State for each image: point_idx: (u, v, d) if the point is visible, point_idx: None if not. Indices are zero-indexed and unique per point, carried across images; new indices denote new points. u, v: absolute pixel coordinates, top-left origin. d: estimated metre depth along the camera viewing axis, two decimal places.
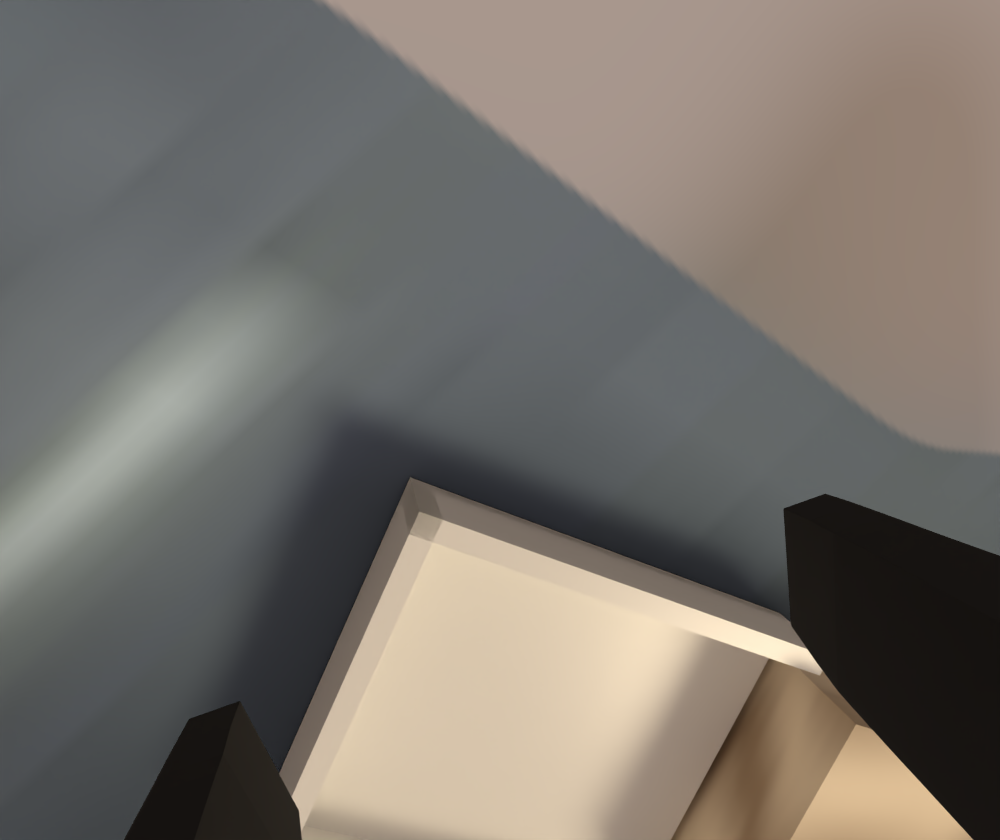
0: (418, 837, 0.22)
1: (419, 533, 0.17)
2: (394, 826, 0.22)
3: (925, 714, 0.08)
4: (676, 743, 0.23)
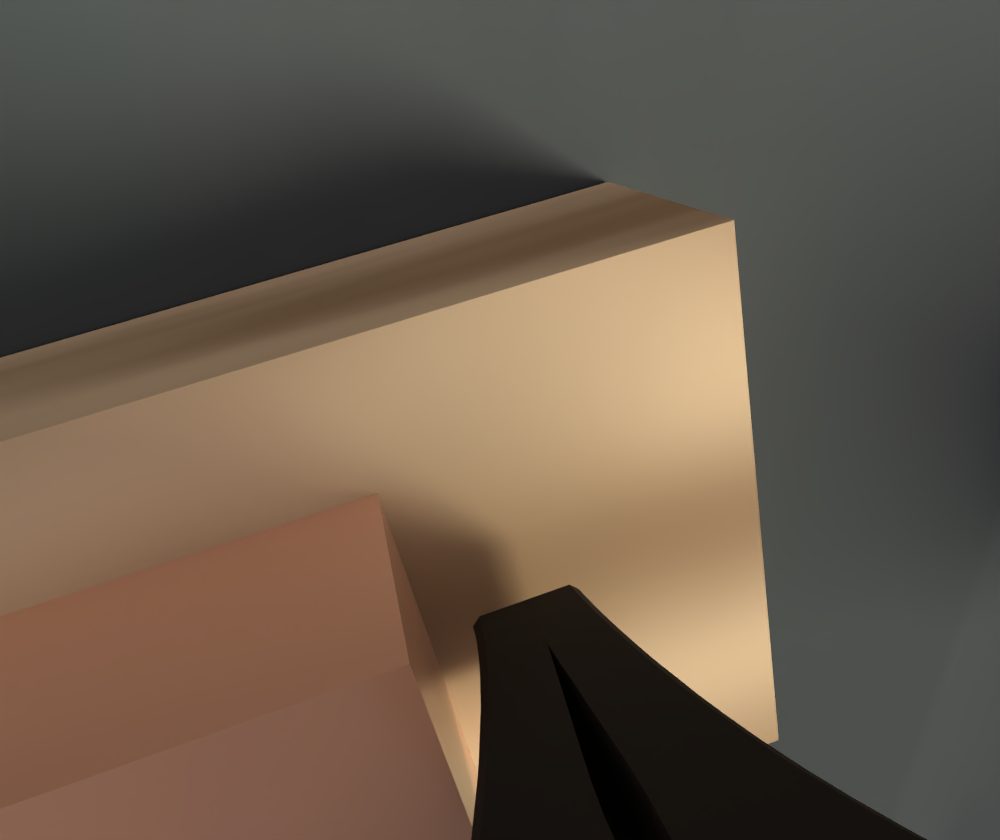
0: None
1: None
2: None
3: (623, 836, 0.08)
4: None
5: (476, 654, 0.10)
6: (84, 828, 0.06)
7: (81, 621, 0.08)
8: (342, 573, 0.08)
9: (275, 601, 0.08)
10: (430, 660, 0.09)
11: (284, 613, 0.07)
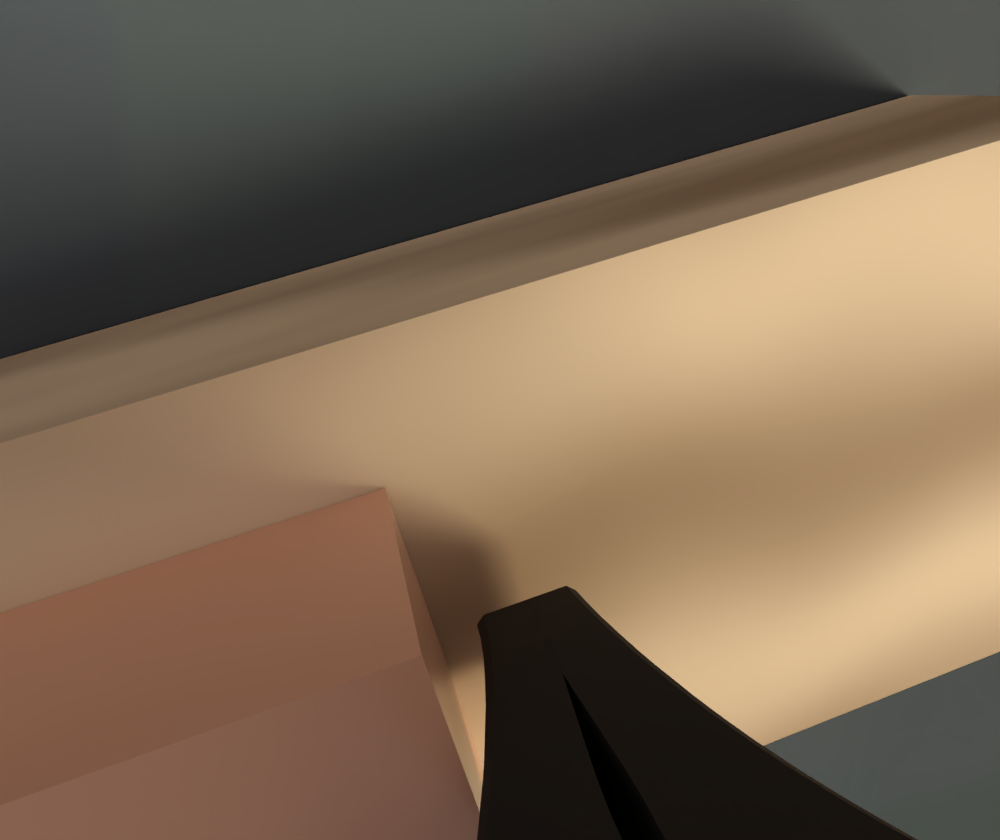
0: None
1: None
2: None
3: None
4: None
5: (838, 523, 0.11)
6: (97, 821, 0.06)
7: (89, 615, 0.08)
8: (351, 567, 0.08)
9: (285, 594, 0.08)
10: (438, 654, 0.09)
11: (295, 606, 0.07)
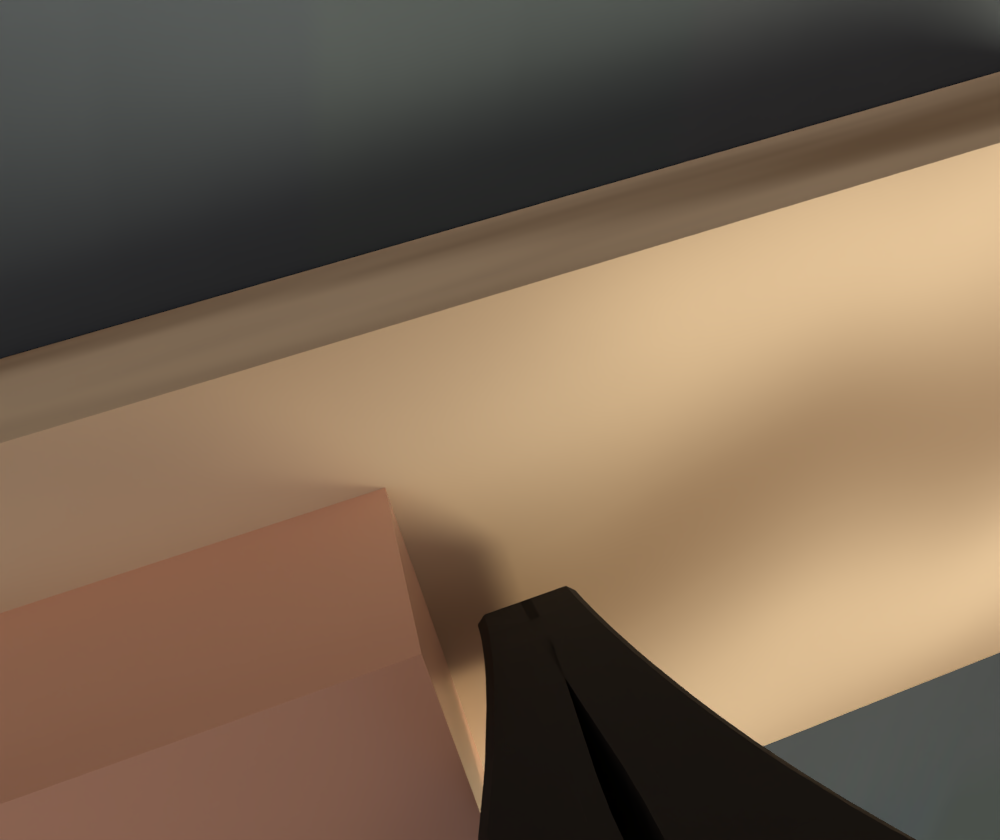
0: None
1: None
2: None
3: None
4: None
5: (996, 467, 0.11)
6: (98, 820, 0.06)
7: (90, 615, 0.08)
8: (351, 566, 0.08)
9: (285, 594, 0.08)
10: (438, 654, 0.09)
11: (294, 606, 0.07)
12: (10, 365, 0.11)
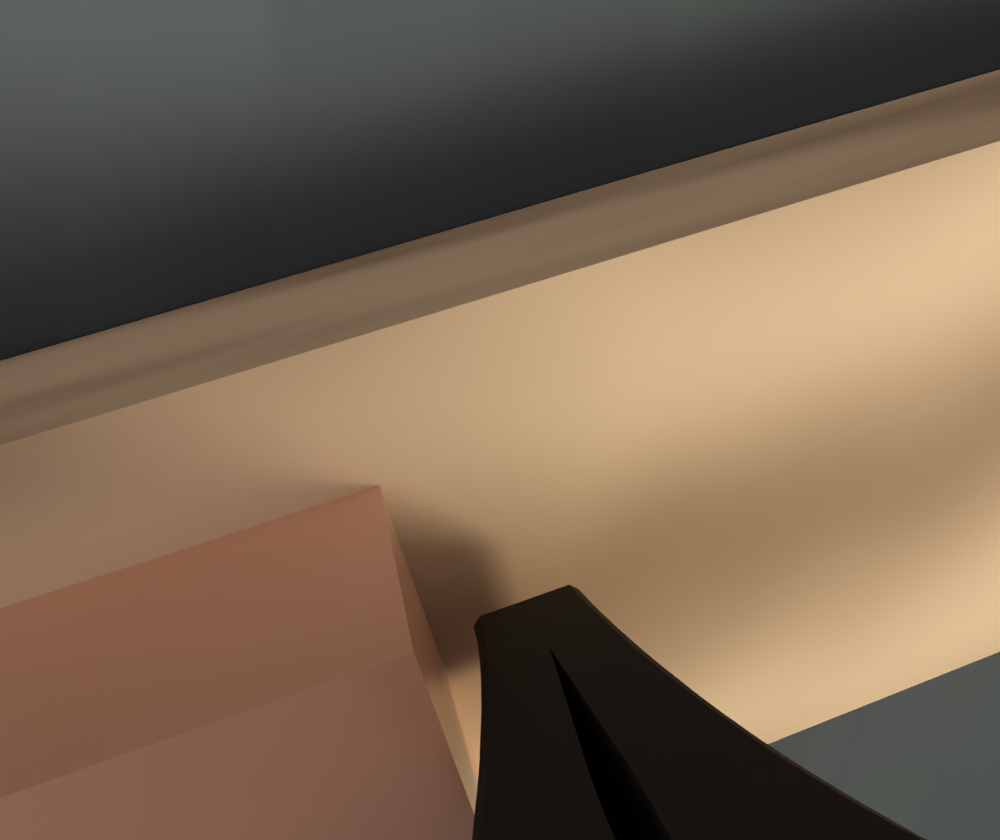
0: None
1: None
2: None
3: (623, 835, 0.08)
4: None
5: None
6: (88, 817, 0.06)
7: (82, 612, 0.08)
8: (344, 565, 0.08)
9: (278, 591, 0.08)
10: (432, 652, 0.09)
11: (288, 603, 0.07)
12: (386, 257, 0.11)
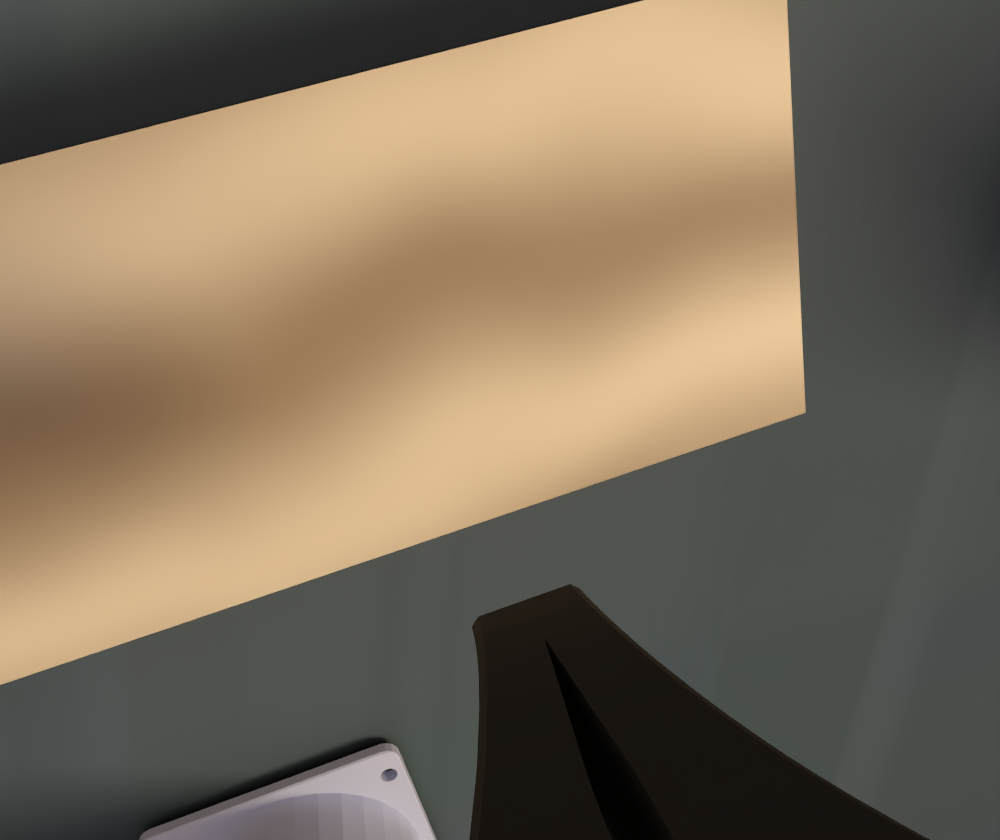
0: None
1: None
2: None
3: (623, 834, 0.08)
4: None
5: (596, 299, 0.15)
6: None
7: None
8: None
9: None
10: None
11: None
12: None
